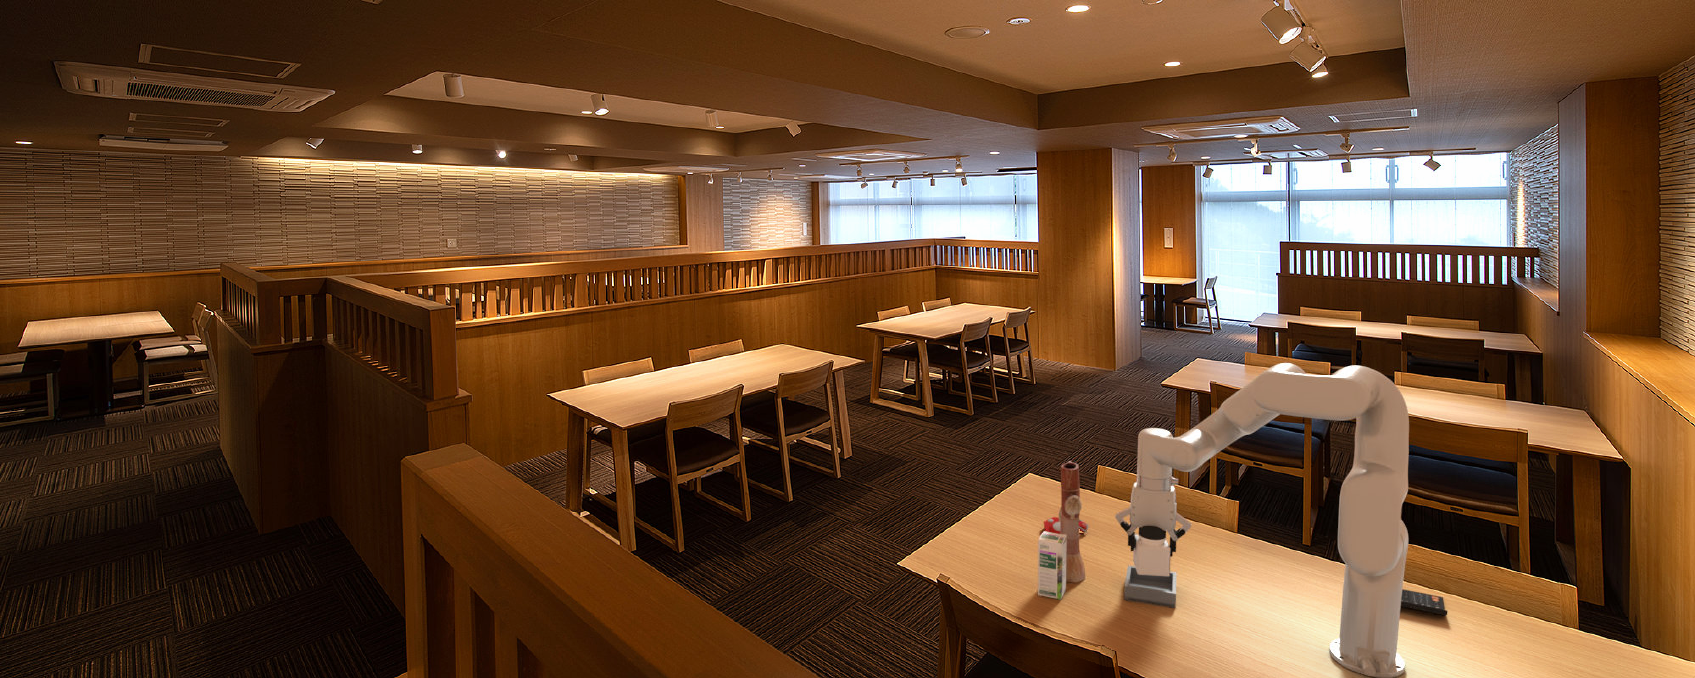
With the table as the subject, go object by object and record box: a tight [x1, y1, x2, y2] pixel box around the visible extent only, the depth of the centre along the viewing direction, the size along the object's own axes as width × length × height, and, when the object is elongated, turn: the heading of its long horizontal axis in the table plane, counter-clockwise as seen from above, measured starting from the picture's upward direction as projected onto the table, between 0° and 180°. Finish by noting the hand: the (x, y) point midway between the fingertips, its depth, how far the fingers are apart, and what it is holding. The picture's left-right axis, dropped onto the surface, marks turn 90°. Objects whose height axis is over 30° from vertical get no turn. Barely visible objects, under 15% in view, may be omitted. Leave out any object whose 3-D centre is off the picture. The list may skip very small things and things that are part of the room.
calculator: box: [1401, 588, 1448, 616], centre depth 173 cm, size 9×12×3 cm
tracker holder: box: [1043, 516, 1090, 534], centre depth 219 cm, size 12×4×10 cm
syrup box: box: [1037, 530, 1067, 601], centre depth 184 cm, size 6×6×14 cm
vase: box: [1058, 460, 1086, 583], centre depth 190 cm, size 11×7×30 cm
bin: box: [1124, 565, 1177, 609], centre depth 183 cm, size 11×11×4 cm
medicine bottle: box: [1132, 526, 1171, 576], centre depth 182 cm, size 7×7×12 cm
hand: (1151, 551), depth 182 cm, fingers closed on medicine bottle, 8 cm apart
